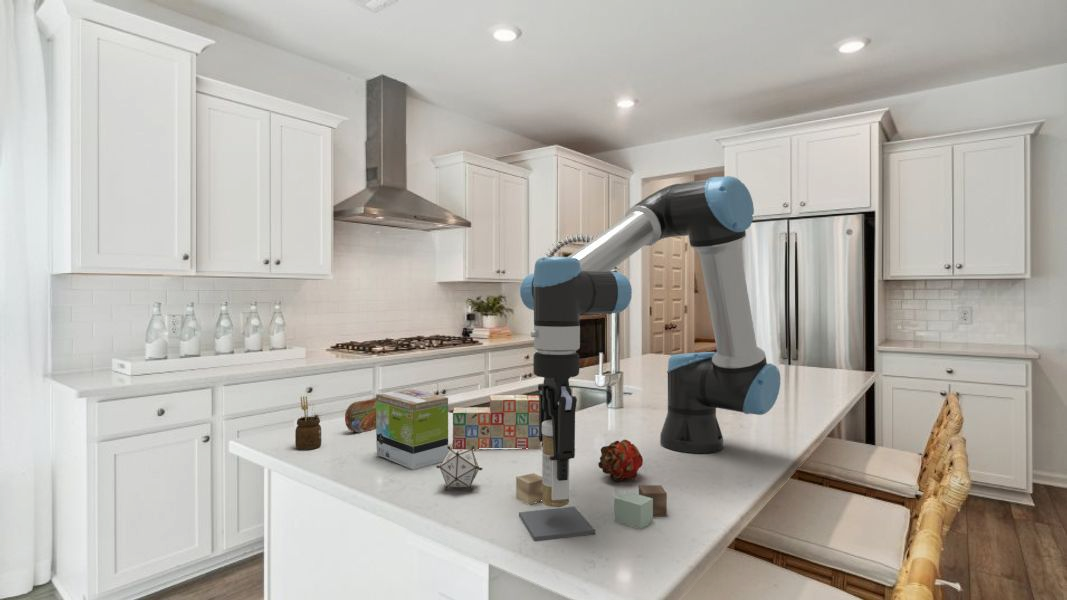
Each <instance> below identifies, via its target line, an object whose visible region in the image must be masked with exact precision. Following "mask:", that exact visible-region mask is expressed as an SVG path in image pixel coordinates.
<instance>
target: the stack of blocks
mask: <svg viewBox="0 0 1067 600" xmlns="http://www.w3.org/2000/svg"><path fill="white" fill-rule="evenodd" d="M473 446H474V449H479V448H522V449H521V450H540V449H541V442H540V441H539V395H526V394H514V395H513V394H512V395H511V394H509V395H507V394H505V395H500V394H499V395H496V394H495V395H492V394H491V395H490V396H489V407H488V406H487V407H486V406H485V407H475V406H474V407H470V406H469V407H454V408H453V412H452V449H471V448H472V447H473ZM526 448H528V449H526Z"/></svg>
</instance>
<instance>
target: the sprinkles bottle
mask: <svg viewBox="0 0 1067 600" xmlns="http://www.w3.org/2000/svg"><path fill="white" fill-rule="evenodd" d="M542 436H543V447H542V454H541V456H542V459H541V460H542V472H541V473H542V475H541V477H542V483H543V498H542V501H541V503H542V504H543V505H545V506H547V507H550V508H563V507H566V506H567V505H568V504H569V503H570V498H569V499H562V500H552V461H551V460H550V456H554V447H553V428H552V420H546V421H543V422H542Z"/></svg>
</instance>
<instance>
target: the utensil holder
mask: <svg viewBox="0 0 1067 600" xmlns="http://www.w3.org/2000/svg"><path fill="white" fill-rule="evenodd" d="M310 405H311V412H313V407H316V406H315V404H313V403H311V404H309V403H308V397H307V396H300V406H301V407H300V408H301V410H302V411H304V412H303V413H304V416H303V417H300V418H298V419H297V420H296V425H297V426H296V428H295V431H294V432H295V434H294V435H295V437H294V438H295V442H294V443H295V448H296V449H297V450H300V451H311V450H315V449H318V448H320V447H321V446H322V427H321V424H320V423H321V419H320V417H319V416H315V414H316V413H314V415H311V416H309V414H310V413H309V409H310ZM307 410H308V411H307Z"/></svg>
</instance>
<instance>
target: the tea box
mask: <svg viewBox="0 0 1067 600" xmlns="http://www.w3.org/2000/svg"><path fill="white" fill-rule="evenodd" d="M375 398H376V429H375V430H376V435H375V436H376V443H375V446H376V456H377V457H381V458H384V459H387V461H392V462H393V463H396V464H397V465H398V464H399V465H401V466H403V467H406V468H407V469H410V470H412V471H415V470H418V469H423V468H426V467H429V466H432V465H433V466H434V465H436V464H439V463H440V464H441V463H442V462H443V460H444V458H445V456H446V455H447V453H448V451H449V449H448V446H449V397H447V396H443V395H442V396H441V395H439V394H434V393H429V392H425V391H421V390H417V389H412V388H408V389H401V390H395V391H390V392H386V393H385V392H384V393H378V394H377V393H376V395H375Z"/></svg>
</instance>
